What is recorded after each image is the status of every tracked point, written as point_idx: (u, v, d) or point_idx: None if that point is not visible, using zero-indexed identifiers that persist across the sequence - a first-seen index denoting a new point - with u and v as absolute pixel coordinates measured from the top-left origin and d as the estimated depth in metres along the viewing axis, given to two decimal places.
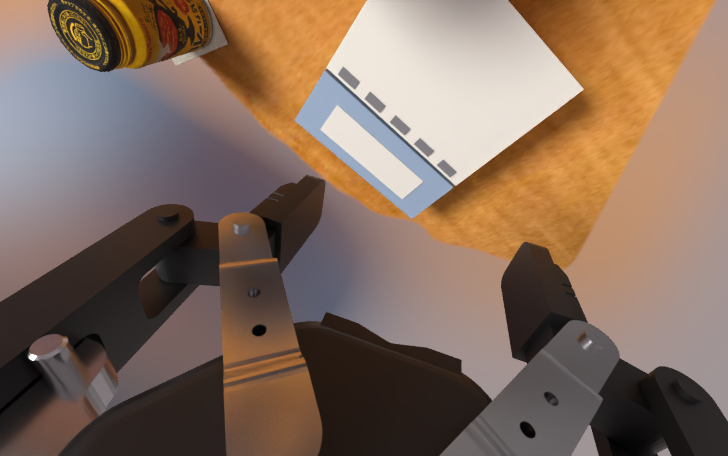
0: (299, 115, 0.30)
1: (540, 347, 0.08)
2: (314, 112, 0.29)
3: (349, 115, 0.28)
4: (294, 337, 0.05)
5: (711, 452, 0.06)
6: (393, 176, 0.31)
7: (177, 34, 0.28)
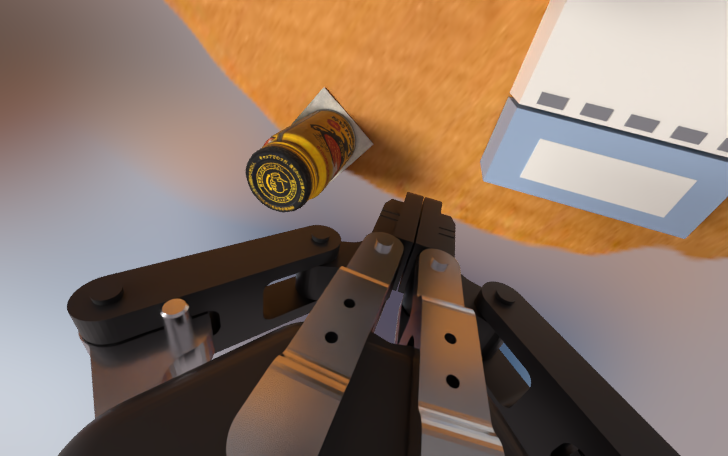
0: (489, 172, 0.25)
1: (410, 275, 0.10)
2: (509, 160, 0.24)
3: (560, 144, 0.23)
4: (354, 363, 0.05)
5: (537, 342, 0.07)
6: (642, 192, 0.23)
7: (340, 150, 0.28)
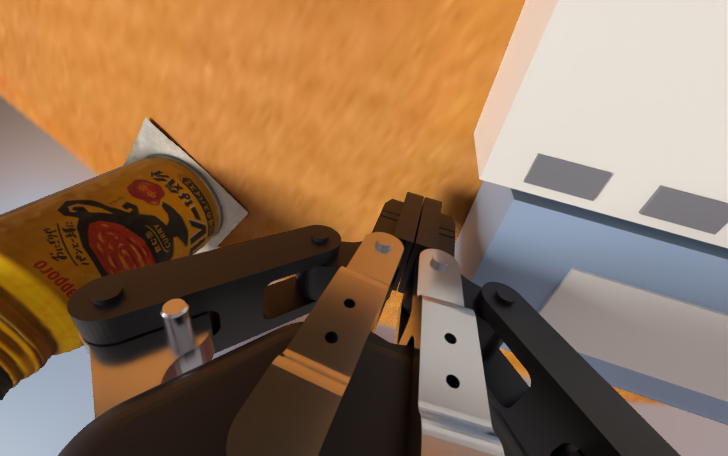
0: None
1: (410, 275, 0.10)
2: None
3: (622, 284, 0.09)
4: (354, 363, 0.05)
5: (537, 342, 0.07)
6: None
7: (147, 245, 0.14)
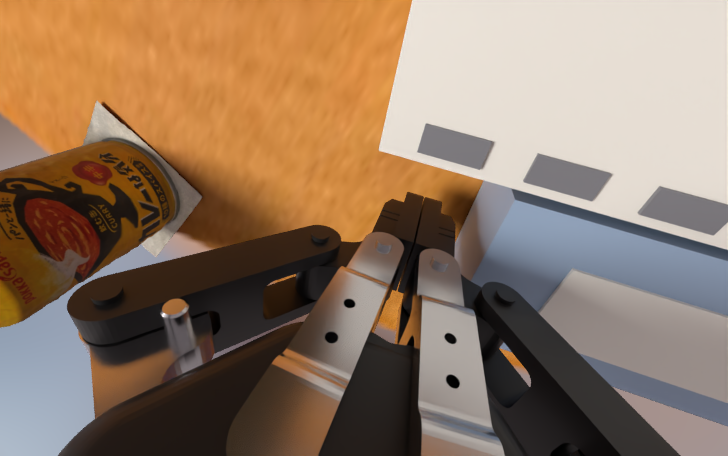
0: None
1: (410, 276, 0.10)
2: None
3: (622, 285, 0.09)
4: (354, 363, 0.05)
5: (537, 342, 0.07)
6: None
7: (90, 223, 0.14)
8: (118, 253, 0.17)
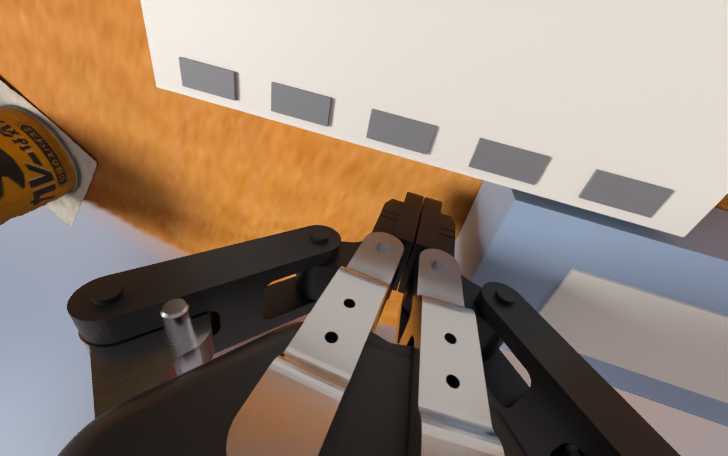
0: None
1: (410, 275, 0.10)
2: None
3: (622, 285, 0.09)
4: (353, 363, 0.05)
5: (537, 342, 0.07)
6: None
7: None
8: (4, 212, 0.17)
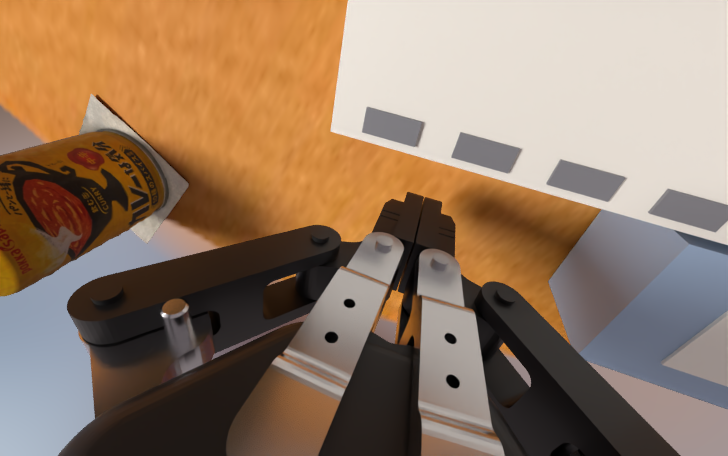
0: (591, 346, 0.12)
1: (410, 276, 0.10)
2: (642, 333, 0.11)
3: None
4: (354, 363, 0.05)
5: (537, 342, 0.07)
6: None
7: (83, 204, 0.16)
8: (109, 234, 0.18)
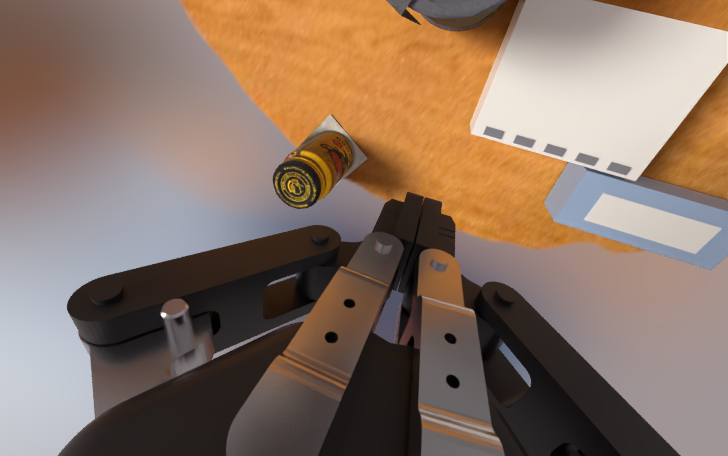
0: (559, 215, 0.33)
1: (410, 276, 0.10)
2: (576, 207, 0.32)
3: (618, 197, 0.30)
4: (354, 363, 0.05)
5: (537, 342, 0.07)
6: (680, 235, 0.31)
7: (342, 163, 0.36)
8: (339, 180, 0.38)
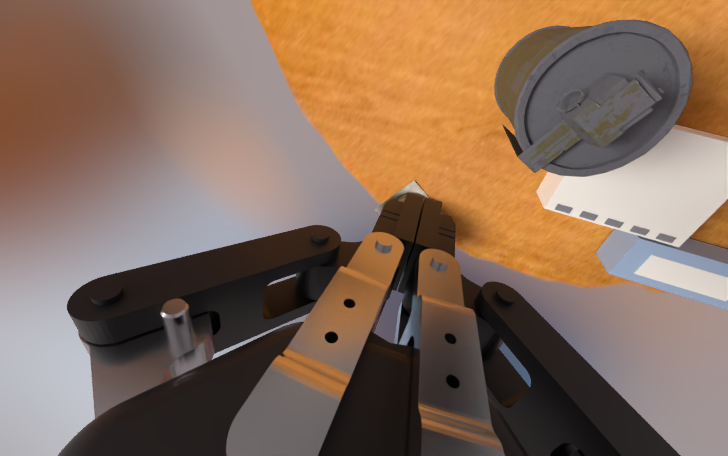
0: (613, 269, 0.40)
1: (410, 275, 0.10)
2: (628, 264, 0.40)
3: (664, 258, 0.38)
4: (354, 363, 0.05)
5: (537, 342, 0.07)
6: (713, 286, 0.38)
7: None
8: None
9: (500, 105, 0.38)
